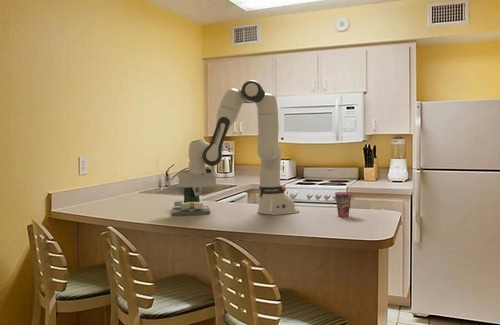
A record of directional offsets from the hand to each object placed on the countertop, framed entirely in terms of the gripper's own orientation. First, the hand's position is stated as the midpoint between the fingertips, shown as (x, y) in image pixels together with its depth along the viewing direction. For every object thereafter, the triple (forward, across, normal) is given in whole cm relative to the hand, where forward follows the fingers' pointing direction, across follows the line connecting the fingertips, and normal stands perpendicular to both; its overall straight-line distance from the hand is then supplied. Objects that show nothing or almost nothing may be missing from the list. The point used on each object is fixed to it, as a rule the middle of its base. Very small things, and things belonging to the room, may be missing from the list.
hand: (197, 195), depth 239 cm
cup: (+9, +72, -30) cm, 78 cm away
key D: (+7, -10, +9) cm, 15 cm away
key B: (+7, -7, 0) cm, 9 cm away
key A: (+7, 0, 0) cm, 7 cm away
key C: (+8, -3, +9) cm, 12 cm away
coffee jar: (+10, -2, +20) cm, 23 cm away
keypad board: (+10, -4, +4) cm, 12 cm away
